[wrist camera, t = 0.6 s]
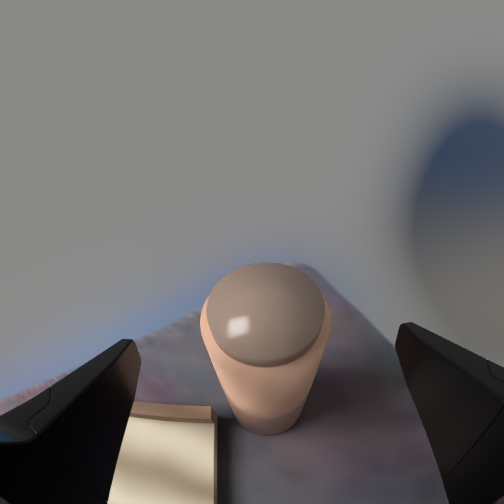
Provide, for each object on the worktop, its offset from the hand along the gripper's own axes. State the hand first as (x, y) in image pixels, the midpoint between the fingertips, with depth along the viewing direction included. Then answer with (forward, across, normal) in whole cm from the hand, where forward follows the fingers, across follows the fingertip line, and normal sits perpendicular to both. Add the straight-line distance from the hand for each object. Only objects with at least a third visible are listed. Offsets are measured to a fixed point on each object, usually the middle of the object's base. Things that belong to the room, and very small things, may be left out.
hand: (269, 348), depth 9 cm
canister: (+8, 0, +13) cm, 15 cm away
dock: (+2, +10, +16) cm, 19 cm away
